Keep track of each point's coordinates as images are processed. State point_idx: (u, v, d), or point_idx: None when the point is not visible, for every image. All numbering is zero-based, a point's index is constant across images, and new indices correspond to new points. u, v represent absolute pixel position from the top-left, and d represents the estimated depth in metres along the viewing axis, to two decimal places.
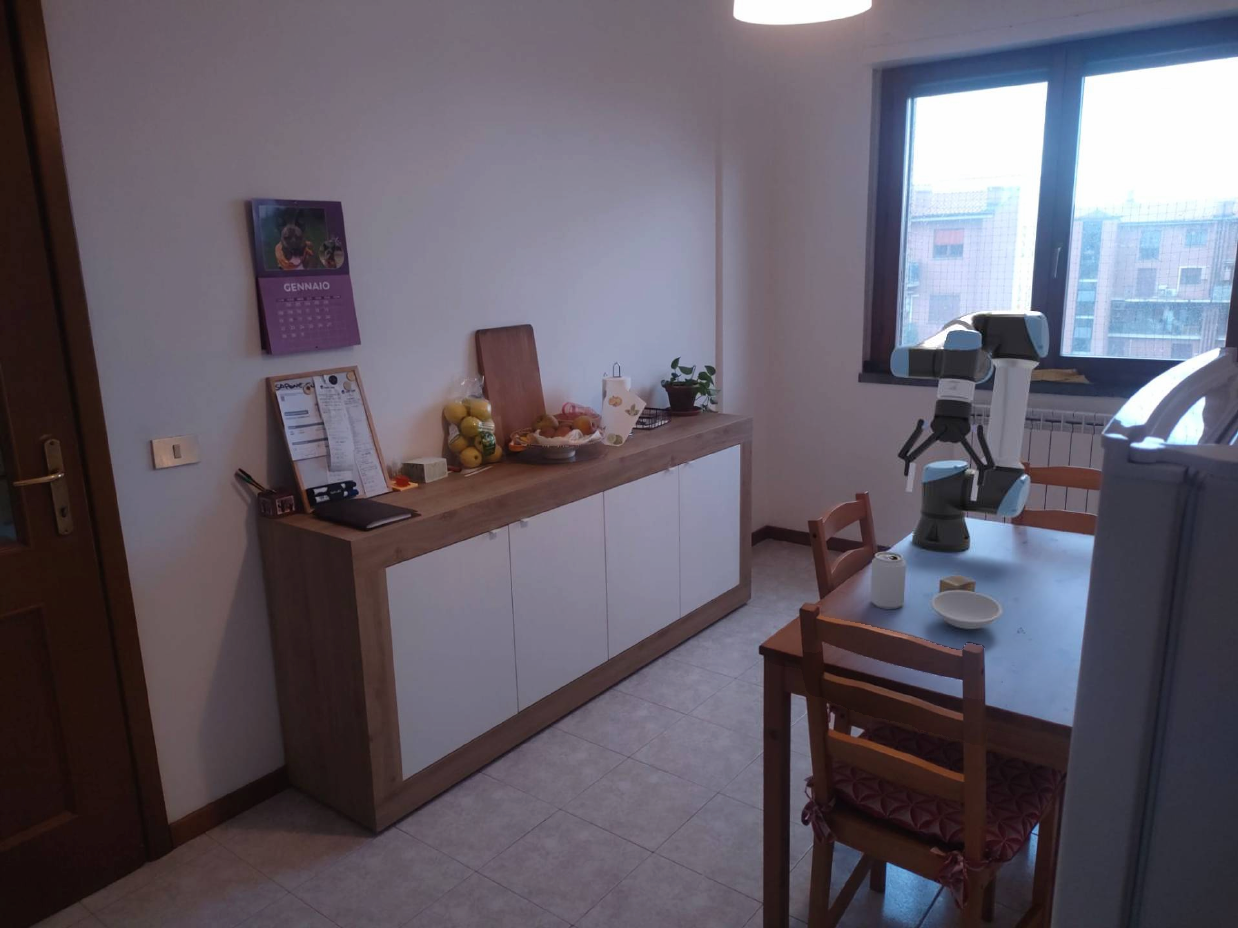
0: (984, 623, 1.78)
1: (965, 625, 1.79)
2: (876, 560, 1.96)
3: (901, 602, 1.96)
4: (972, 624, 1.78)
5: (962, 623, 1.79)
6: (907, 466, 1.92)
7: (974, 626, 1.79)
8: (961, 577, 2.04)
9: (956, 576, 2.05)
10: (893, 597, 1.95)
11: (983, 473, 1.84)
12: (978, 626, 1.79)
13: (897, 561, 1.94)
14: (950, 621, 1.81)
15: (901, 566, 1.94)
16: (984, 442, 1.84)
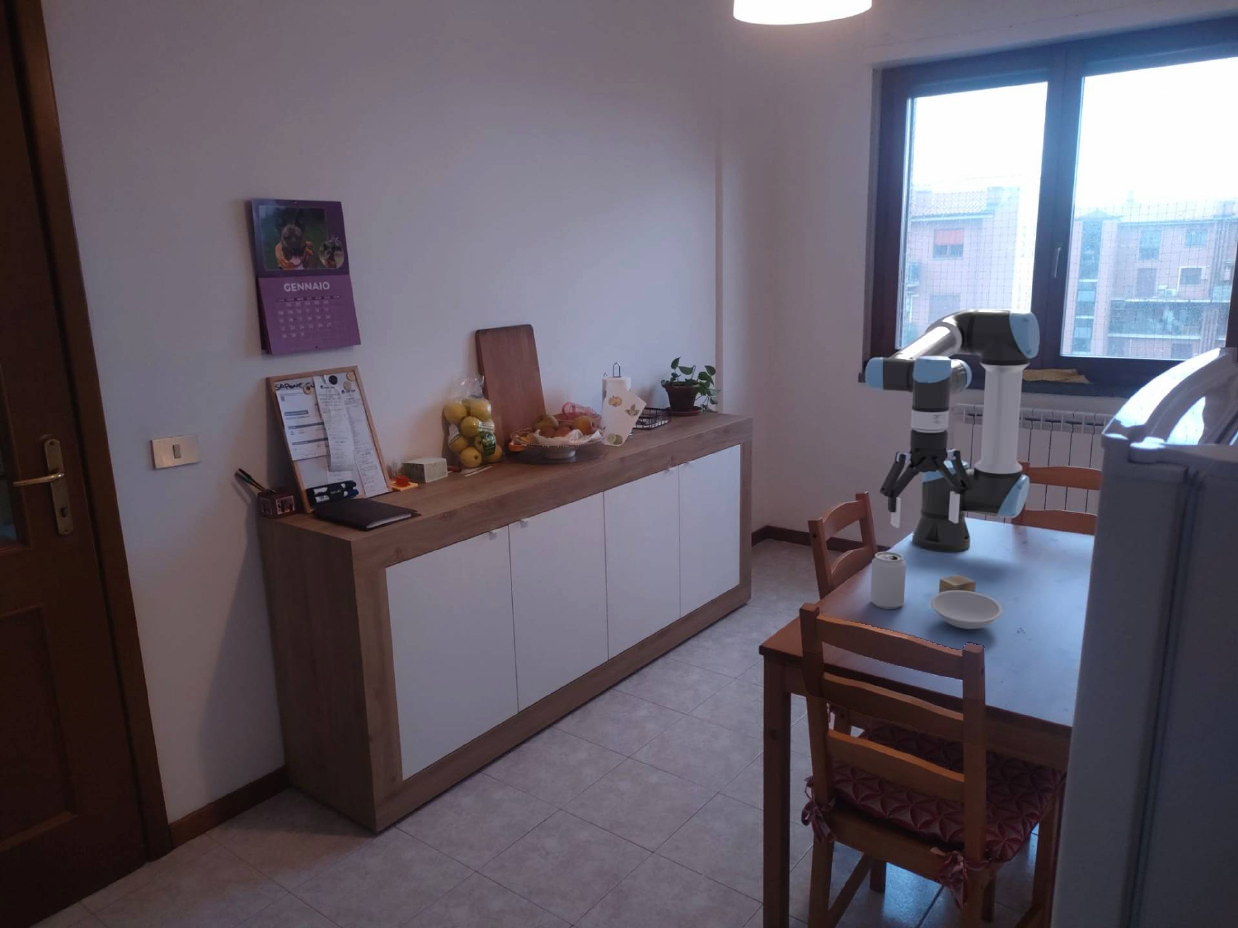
0: (984, 623, 1.78)
1: (965, 625, 1.79)
2: (876, 560, 1.96)
3: (901, 602, 1.96)
4: (972, 624, 1.78)
5: (962, 623, 1.79)
6: (893, 502, 1.86)
7: (974, 626, 1.79)
8: (962, 577, 2.04)
9: (957, 576, 2.05)
10: (893, 597, 1.95)
11: (962, 495, 1.88)
12: (978, 626, 1.79)
13: (897, 561, 1.94)
14: (950, 621, 1.81)
15: (901, 566, 1.94)
16: (962, 466, 1.86)
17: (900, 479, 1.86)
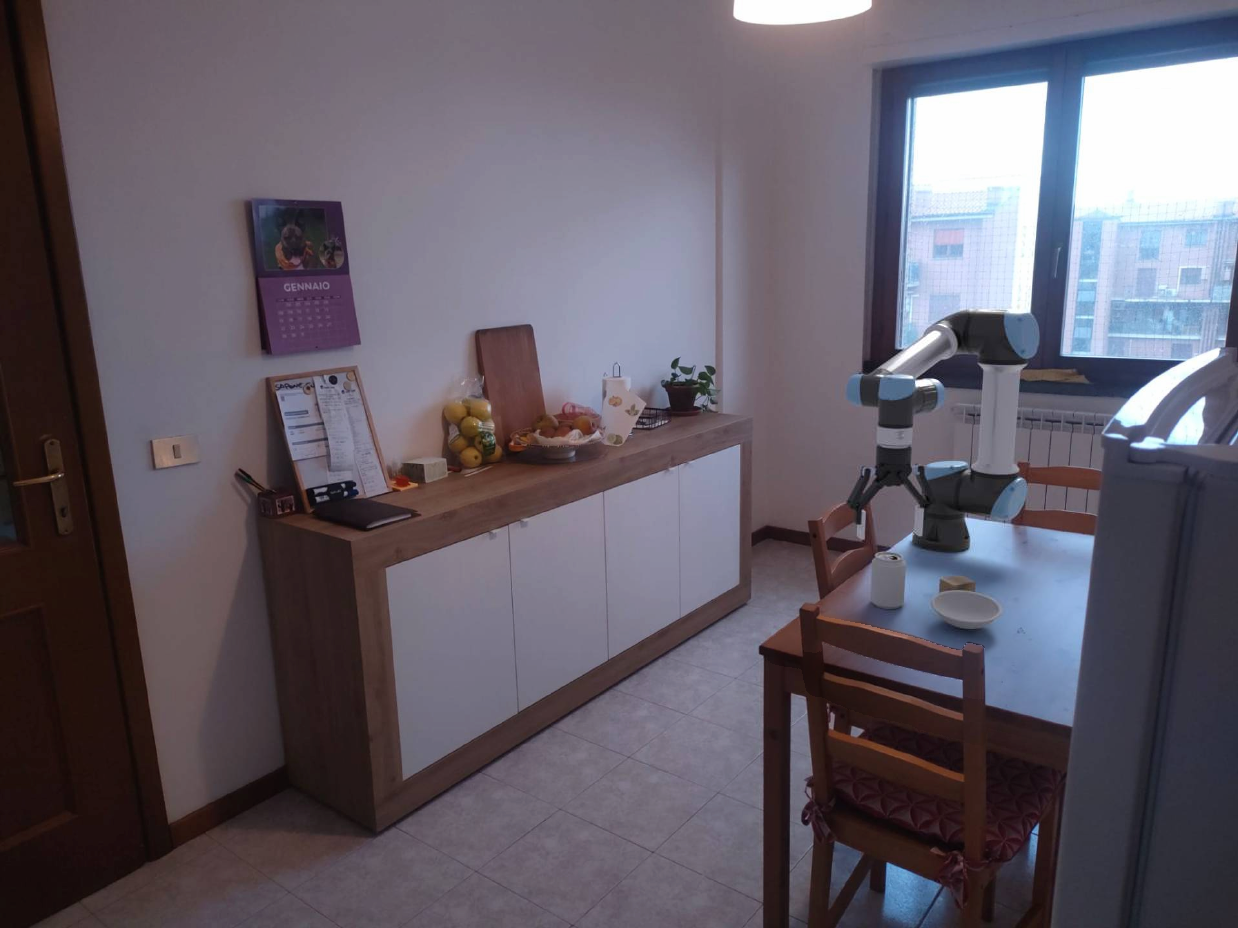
0: (984, 623, 1.78)
1: (965, 625, 1.79)
2: (876, 560, 1.96)
3: (901, 602, 1.96)
4: (972, 624, 1.78)
5: (962, 623, 1.79)
6: (858, 515, 1.93)
7: (974, 626, 1.79)
8: (962, 577, 2.04)
9: (957, 576, 2.05)
10: (893, 597, 1.95)
11: (926, 509, 1.94)
12: (978, 626, 1.79)
13: (897, 561, 1.94)
14: (950, 621, 1.81)
15: (901, 566, 1.94)
16: (926, 481, 1.92)
17: (866, 492, 1.93)
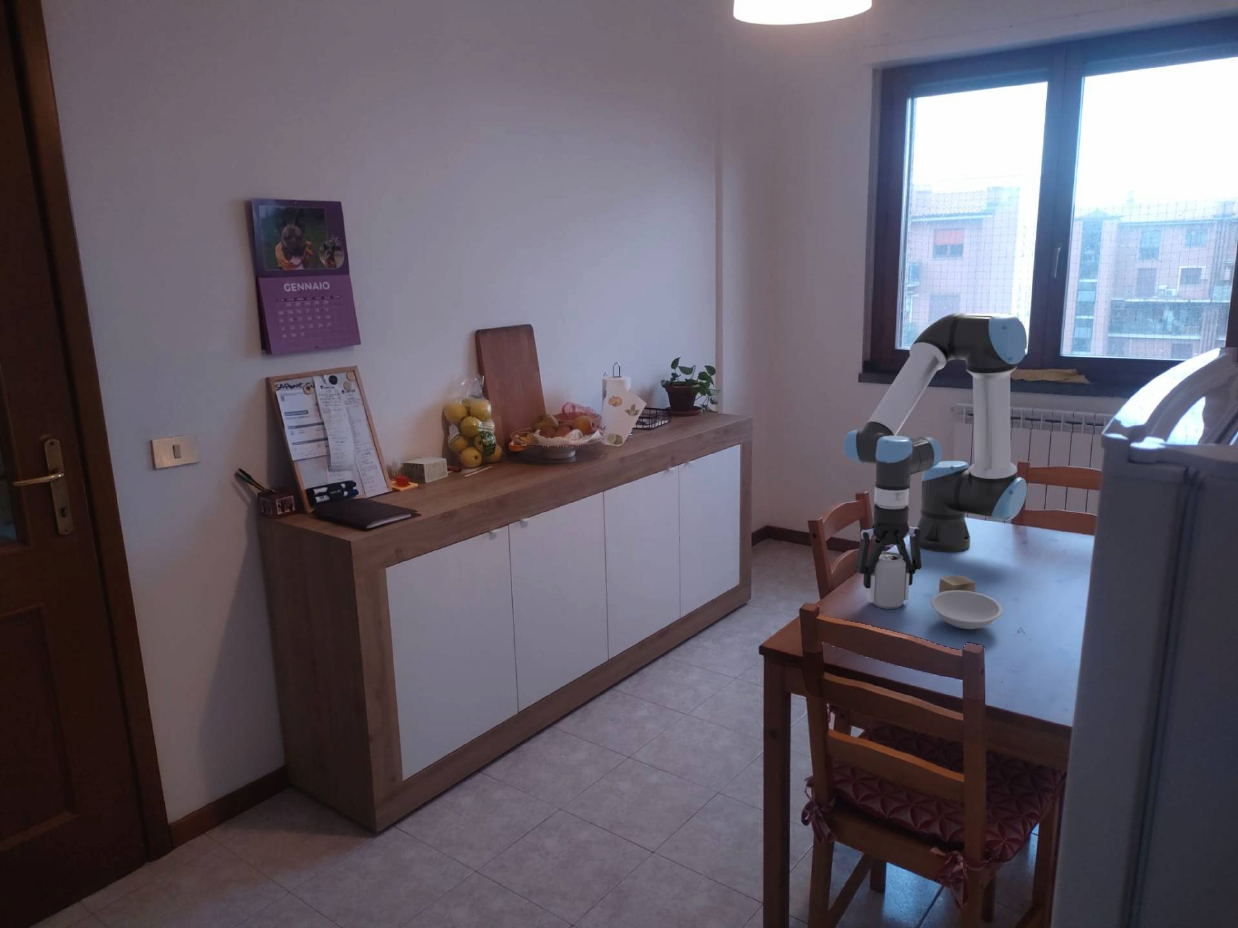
0: (984, 623, 1.78)
1: (965, 625, 1.79)
2: None
3: (901, 602, 1.96)
4: (972, 624, 1.78)
5: (962, 623, 1.79)
6: (868, 579, 1.97)
7: (974, 626, 1.79)
8: (963, 577, 2.04)
9: (958, 576, 2.04)
10: (893, 596, 1.95)
11: (912, 574, 1.98)
12: (978, 626, 1.79)
13: (897, 561, 1.94)
14: (950, 621, 1.81)
15: (901, 566, 1.94)
16: (918, 545, 1.96)
17: (870, 555, 1.97)
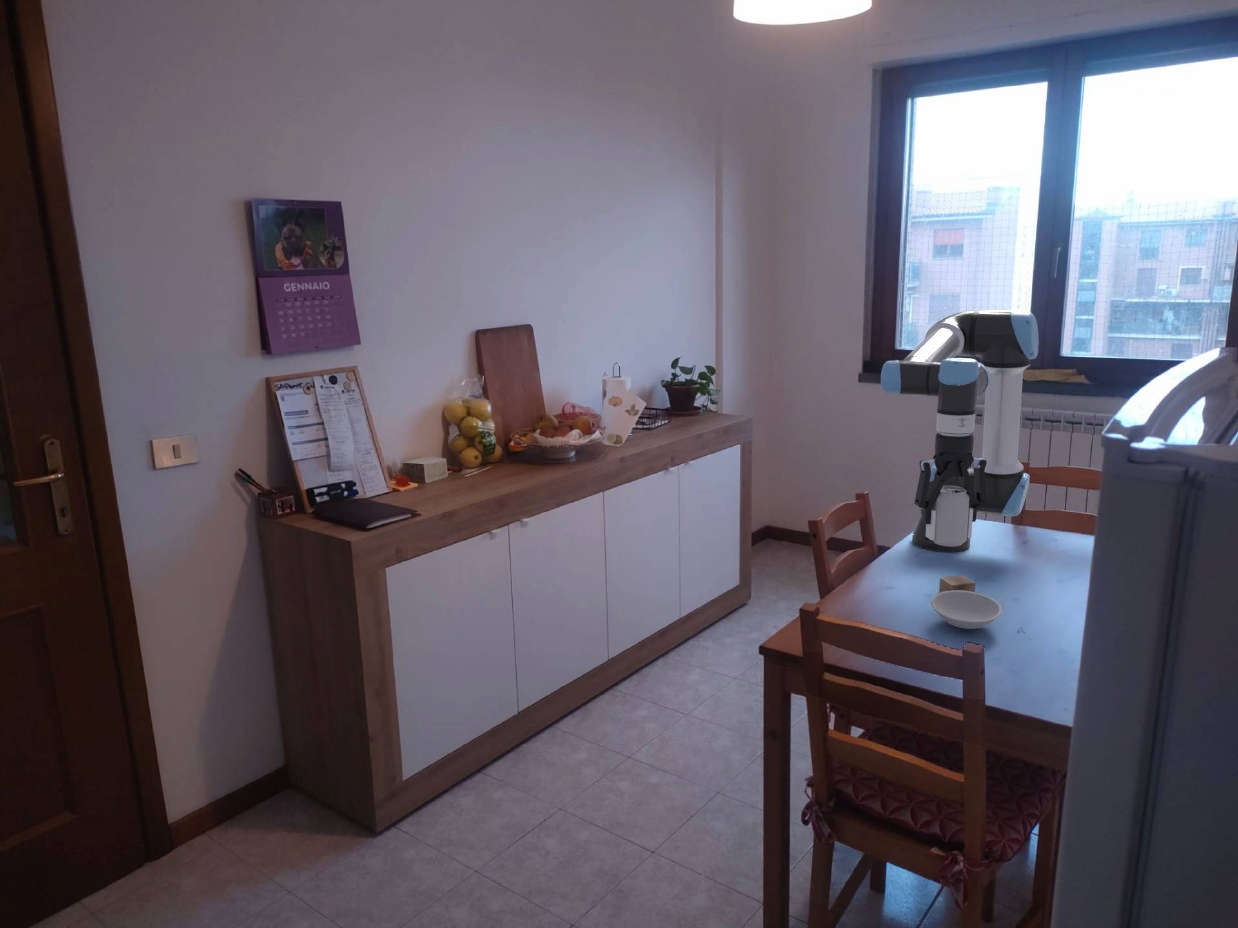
0: (984, 623, 1.78)
1: (965, 625, 1.79)
2: None
3: (964, 539, 1.82)
4: (972, 624, 1.78)
5: (962, 623, 1.79)
6: (928, 514, 1.82)
7: (974, 626, 1.79)
8: (963, 578, 2.04)
9: (959, 576, 2.04)
10: (955, 533, 1.81)
11: (975, 509, 1.83)
12: (978, 626, 1.79)
13: (960, 494, 1.80)
14: (950, 621, 1.81)
15: (965, 499, 1.80)
16: (983, 478, 1.81)
17: (931, 489, 1.82)
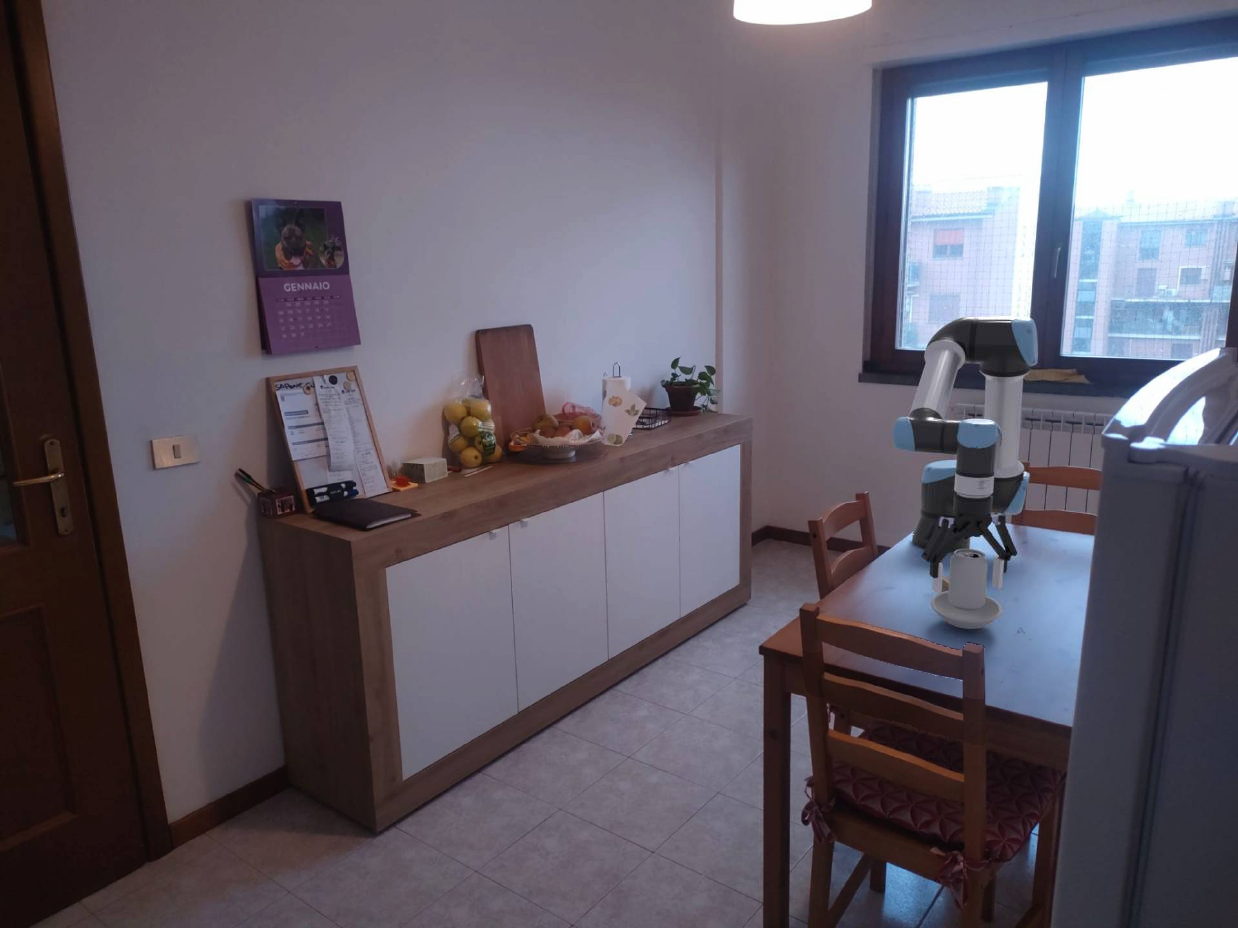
0: (984, 623, 1.78)
1: (965, 625, 1.79)
2: (955, 558, 1.82)
3: (983, 603, 1.82)
4: (972, 624, 1.78)
5: (962, 623, 1.79)
6: (935, 568, 1.81)
7: (974, 626, 1.79)
8: None
9: None
10: (974, 597, 1.81)
11: (1006, 560, 1.83)
12: (978, 626, 1.79)
13: (979, 559, 1.80)
14: (950, 621, 1.81)
15: (983, 564, 1.80)
16: (1007, 532, 1.81)
17: (942, 544, 1.81)
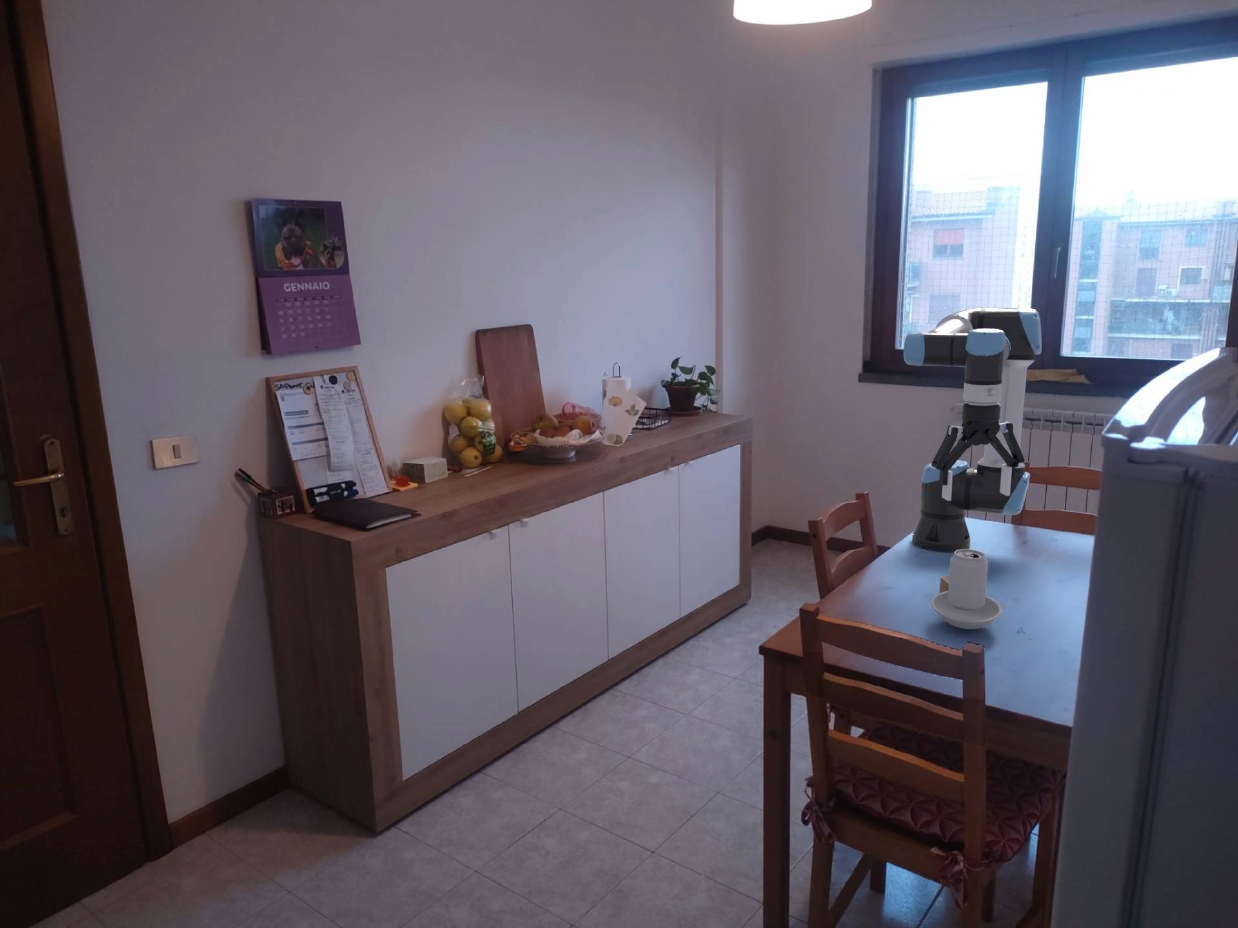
0: (984, 623, 1.78)
1: (965, 625, 1.79)
2: (956, 558, 1.82)
3: (983, 603, 1.82)
4: (972, 624, 1.78)
5: (962, 623, 1.79)
6: (945, 475, 1.87)
7: (974, 626, 1.79)
8: None
9: None
10: (974, 598, 1.81)
11: (1014, 468, 1.88)
12: (978, 626, 1.79)
13: (979, 559, 1.80)
14: (950, 621, 1.81)
15: (984, 565, 1.80)
16: (1014, 439, 1.86)
17: (952, 452, 1.87)
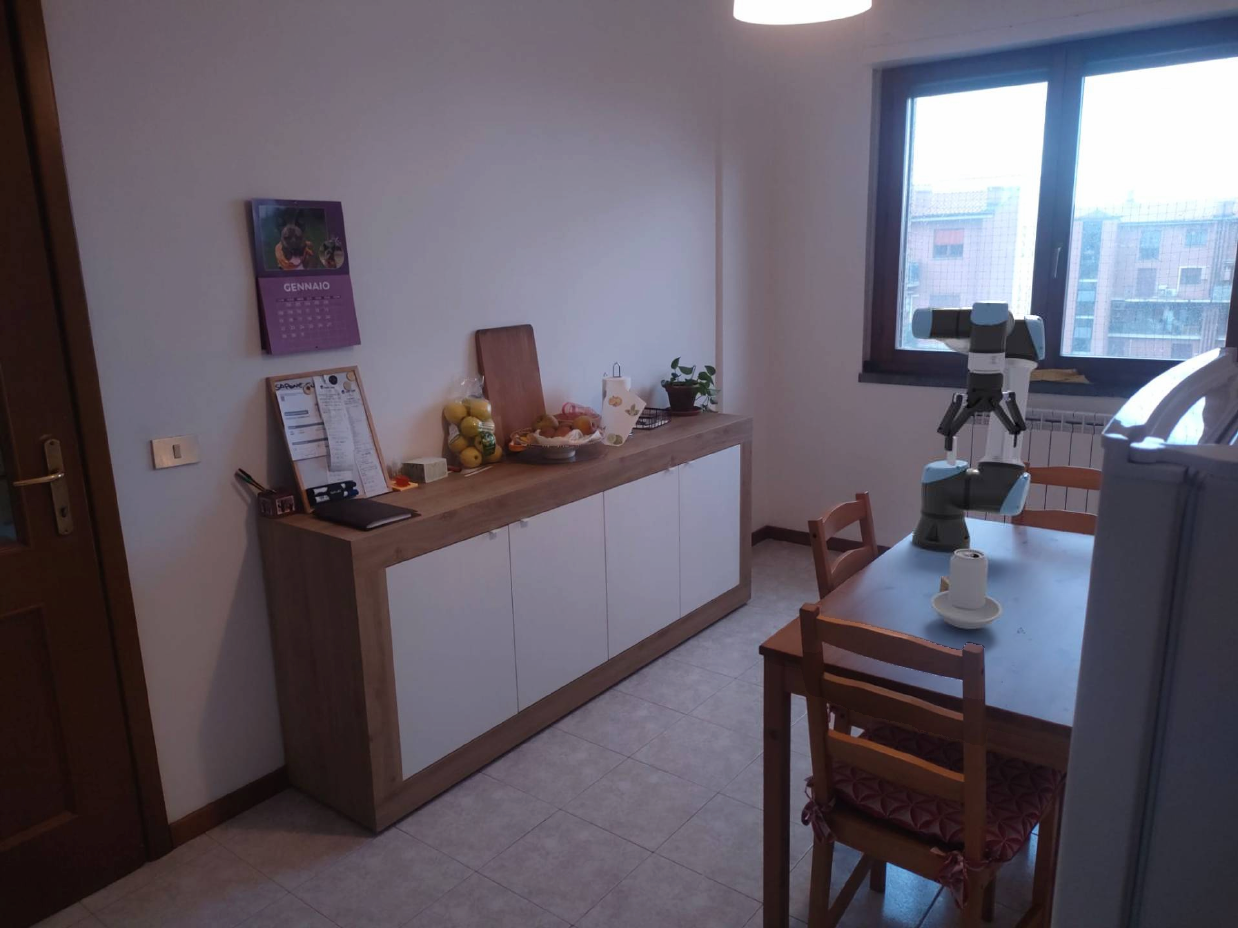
0: (984, 623, 1.78)
1: (965, 625, 1.79)
2: (956, 558, 1.82)
3: (983, 603, 1.82)
4: (972, 624, 1.78)
5: (962, 623, 1.79)
6: (950, 441, 1.94)
7: (974, 626, 1.79)
8: None
9: None
10: (974, 597, 1.81)
11: (1016, 436, 1.96)
12: (978, 626, 1.79)
13: (979, 559, 1.80)
14: (950, 621, 1.81)
15: (984, 564, 1.80)
16: (1017, 408, 1.94)
17: (957, 419, 1.95)
